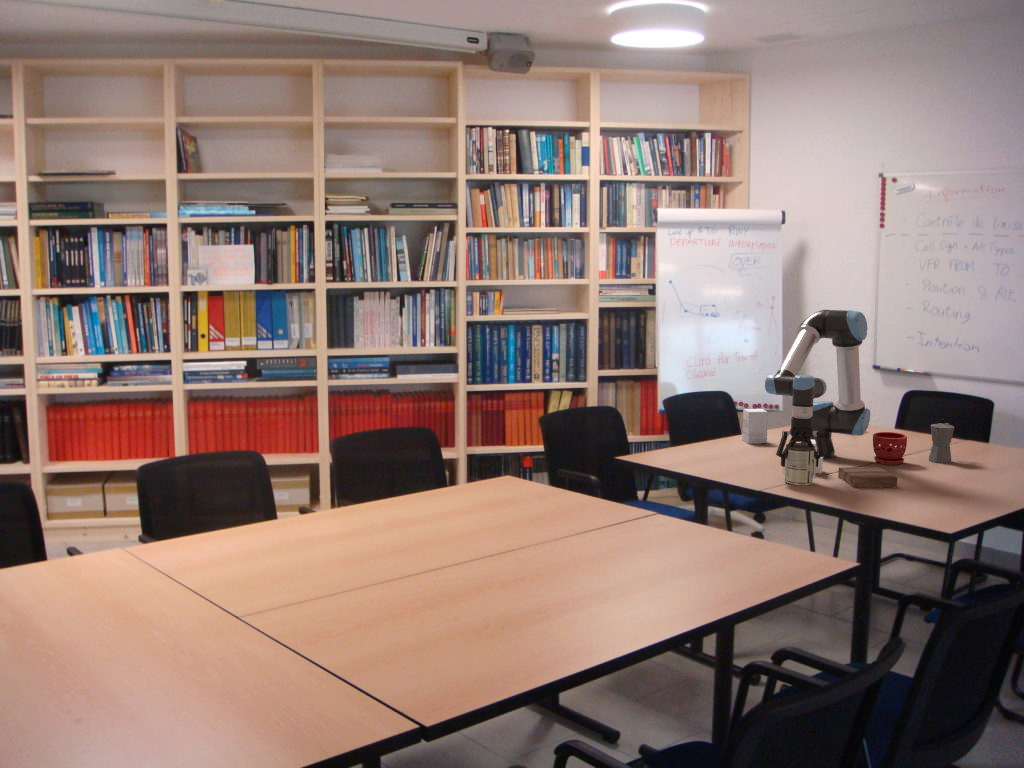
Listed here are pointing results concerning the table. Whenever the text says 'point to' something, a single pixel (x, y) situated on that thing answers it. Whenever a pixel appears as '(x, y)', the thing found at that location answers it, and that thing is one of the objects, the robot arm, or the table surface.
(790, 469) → the coffee can
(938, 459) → the coffeepot
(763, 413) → the supplement box
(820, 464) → the base with upright slab
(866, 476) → the walnut plinth
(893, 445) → the plant pot
